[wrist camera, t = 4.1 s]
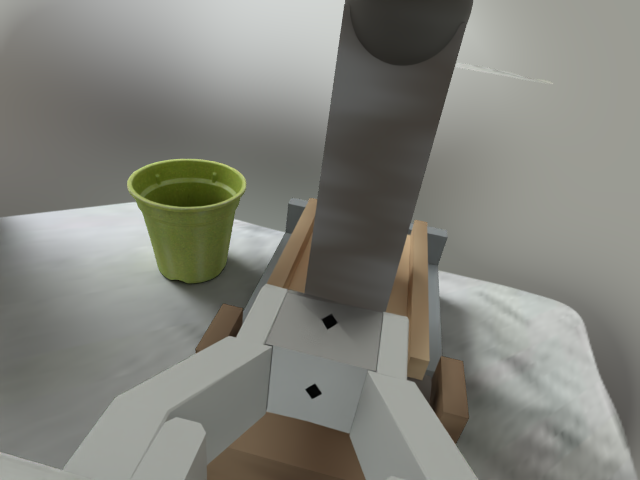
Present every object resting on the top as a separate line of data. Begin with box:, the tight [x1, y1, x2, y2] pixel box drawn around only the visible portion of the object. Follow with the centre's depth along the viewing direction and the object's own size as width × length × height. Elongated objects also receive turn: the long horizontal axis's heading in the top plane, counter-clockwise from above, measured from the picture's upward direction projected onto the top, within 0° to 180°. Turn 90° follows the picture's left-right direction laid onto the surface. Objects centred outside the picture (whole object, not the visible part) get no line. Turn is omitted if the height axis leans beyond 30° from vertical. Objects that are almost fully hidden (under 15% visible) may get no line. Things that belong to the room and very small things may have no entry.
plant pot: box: [127, 159, 246, 283], centre depth 38 cm, size 9×9×9 cm
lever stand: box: [195, 304, 469, 480], centre depth 20 cm, size 14×12×11 cm
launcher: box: [267, 0, 473, 403], centre depth 19 cm, size 9×14×17 cm, turn 169°
